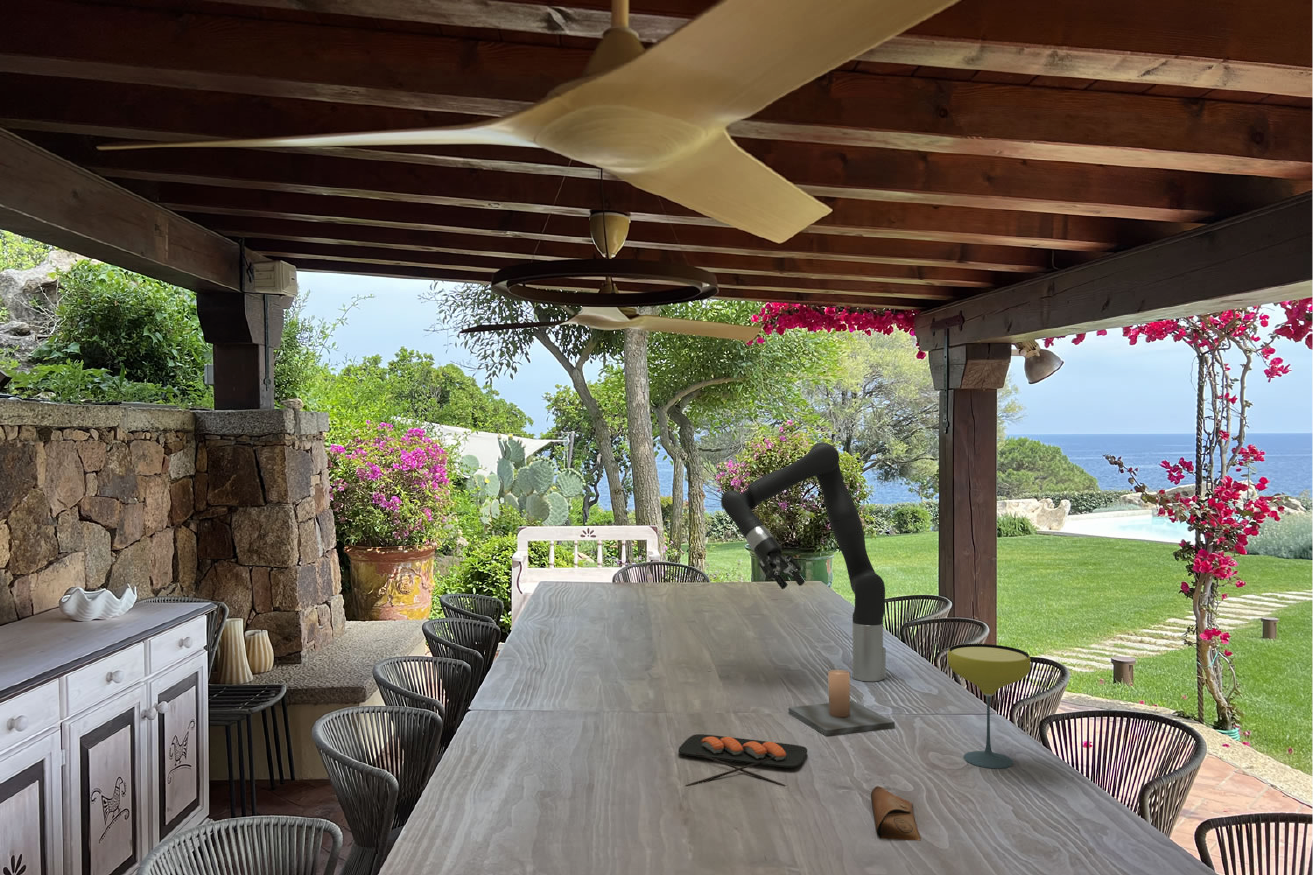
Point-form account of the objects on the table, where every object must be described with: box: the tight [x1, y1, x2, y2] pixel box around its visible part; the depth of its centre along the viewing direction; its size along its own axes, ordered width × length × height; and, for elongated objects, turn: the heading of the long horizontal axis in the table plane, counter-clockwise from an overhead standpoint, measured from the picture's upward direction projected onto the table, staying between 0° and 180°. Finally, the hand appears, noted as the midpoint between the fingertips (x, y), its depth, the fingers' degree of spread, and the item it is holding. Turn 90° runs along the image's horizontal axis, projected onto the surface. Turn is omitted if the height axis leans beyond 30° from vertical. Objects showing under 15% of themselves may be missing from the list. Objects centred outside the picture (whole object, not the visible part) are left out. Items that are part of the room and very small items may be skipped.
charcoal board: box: [788, 700, 896, 737], centre depth 237 cm, size 20×20×2 cm
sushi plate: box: [678, 733, 808, 787], centre depth 203 cm, size 29×30×4 cm
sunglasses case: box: [870, 785, 921, 841], centre depth 175 cm, size 18×7×7 cm
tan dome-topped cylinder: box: [827, 669, 851, 717], centre depth 237 cm, size 6×6×11 cm
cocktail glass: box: [946, 643, 1032, 770], centre depth 207 cm, size 18×18×25 cm
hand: (793, 585), depth 267 cm, fingers open, 8 cm apart
